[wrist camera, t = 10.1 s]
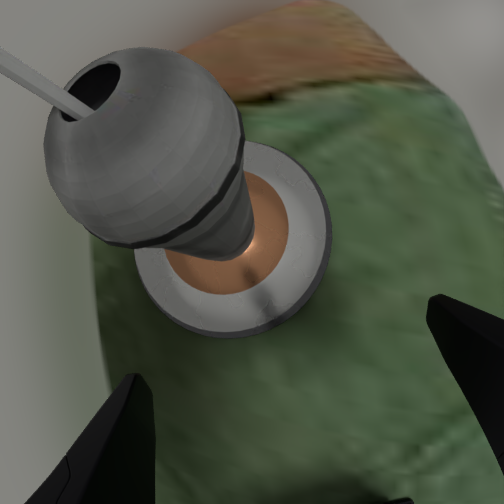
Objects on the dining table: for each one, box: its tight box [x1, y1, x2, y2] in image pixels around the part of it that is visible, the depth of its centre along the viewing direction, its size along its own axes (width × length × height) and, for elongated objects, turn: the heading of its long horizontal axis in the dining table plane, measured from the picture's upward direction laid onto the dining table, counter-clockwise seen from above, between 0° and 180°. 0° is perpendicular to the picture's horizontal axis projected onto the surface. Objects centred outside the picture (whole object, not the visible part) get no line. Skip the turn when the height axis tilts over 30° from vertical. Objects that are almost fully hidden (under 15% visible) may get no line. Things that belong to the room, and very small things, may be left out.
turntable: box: [134, 141, 326, 332], centre depth 22 cm, size 14×14×1 cm
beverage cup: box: [0, 47, 255, 262], centre depth 12 cm, size 7×7×20 cm
